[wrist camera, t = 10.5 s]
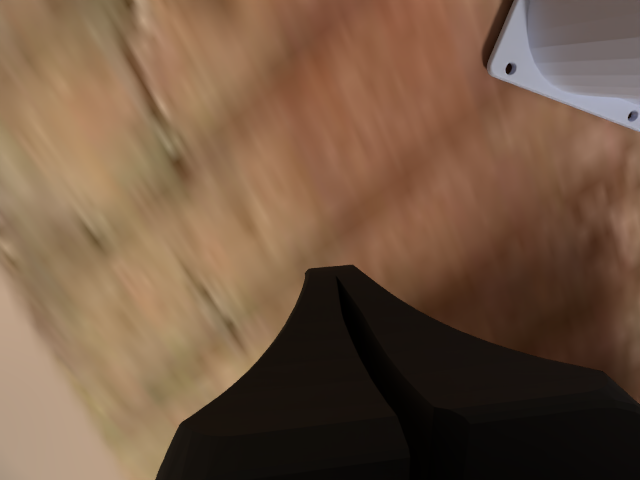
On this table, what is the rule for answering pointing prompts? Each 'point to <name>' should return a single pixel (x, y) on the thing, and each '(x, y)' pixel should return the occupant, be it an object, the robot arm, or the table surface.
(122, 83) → the table surface
